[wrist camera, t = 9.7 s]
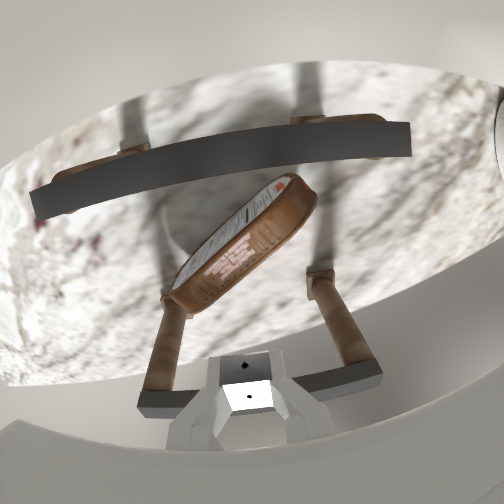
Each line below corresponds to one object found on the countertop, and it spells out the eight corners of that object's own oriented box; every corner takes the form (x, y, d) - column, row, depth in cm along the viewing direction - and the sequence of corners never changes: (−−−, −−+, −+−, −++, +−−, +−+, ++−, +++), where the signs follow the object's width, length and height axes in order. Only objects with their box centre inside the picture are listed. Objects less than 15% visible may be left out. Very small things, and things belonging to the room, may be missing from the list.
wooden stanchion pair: (322, 115, 22) (395, 108, 11) (332, 291, 30) (375, 371, 19) (120, 151, 22) (40, 174, 11) (169, 317, 30) (147, 404, 19)
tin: (194, 283, 29) (184, 336, 21) (172, 264, 28) (153, 313, 20) (305, 185, 25) (336, 211, 18) (283, 160, 24) (307, 175, 16)
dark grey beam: (375, 357, 18) (383, 372, 16) (372, 370, 19) (379, 385, 17) (140, 391, 18) (136, 407, 16) (148, 402, 19) (145, 418, 17)
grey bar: (391, 121, 11) (409, 122, 10) (394, 152, 12) (411, 156, 10) (46, 184, 11) (29, 192, 10) (54, 212, 12) (37, 222, 10)
